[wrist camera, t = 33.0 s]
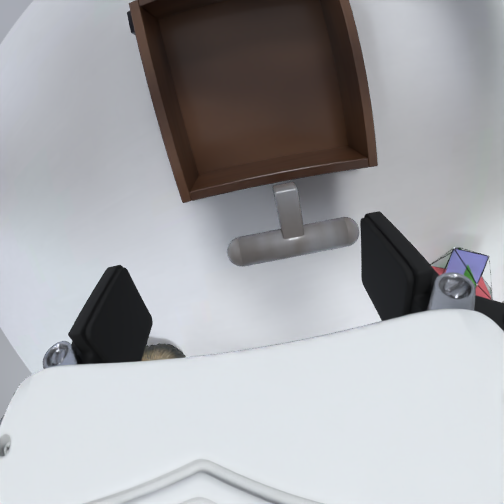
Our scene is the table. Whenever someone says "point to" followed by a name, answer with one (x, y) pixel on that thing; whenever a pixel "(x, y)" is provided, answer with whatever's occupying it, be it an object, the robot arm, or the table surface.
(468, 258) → the geometric puzzle
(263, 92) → the open drawer
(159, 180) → the table surface
